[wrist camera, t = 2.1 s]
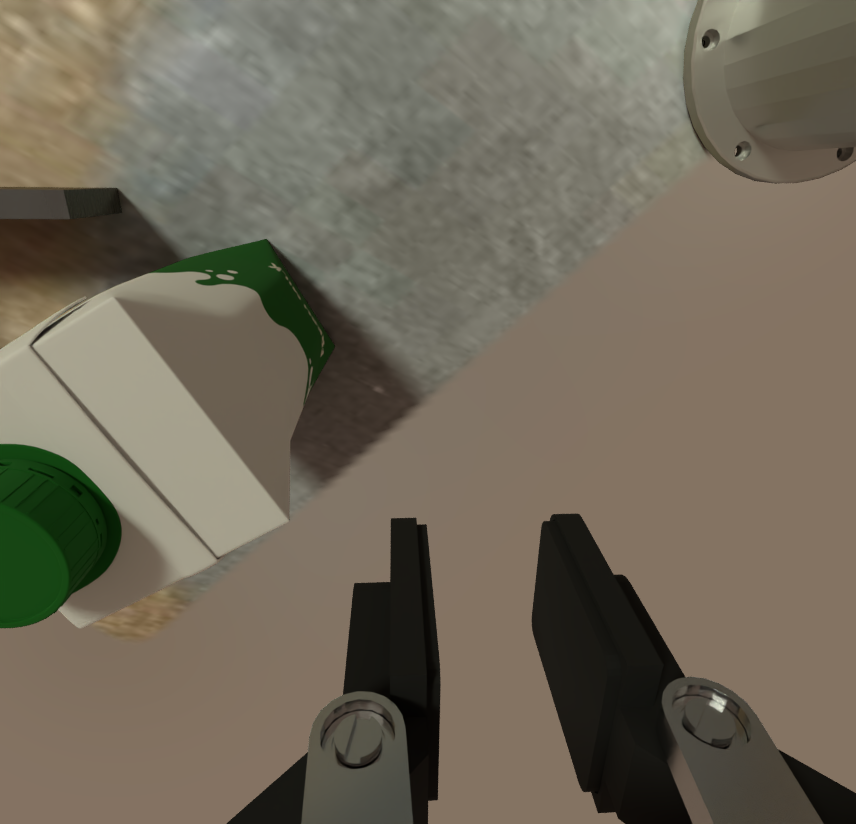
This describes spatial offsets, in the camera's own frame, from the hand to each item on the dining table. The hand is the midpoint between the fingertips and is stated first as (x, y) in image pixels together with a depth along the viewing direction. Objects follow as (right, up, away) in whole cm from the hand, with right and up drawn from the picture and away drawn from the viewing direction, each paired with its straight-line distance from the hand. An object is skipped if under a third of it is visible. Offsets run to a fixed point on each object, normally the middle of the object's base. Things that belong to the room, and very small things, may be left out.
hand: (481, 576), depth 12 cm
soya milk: (-11, +9, +20) cm, 25 cm away
